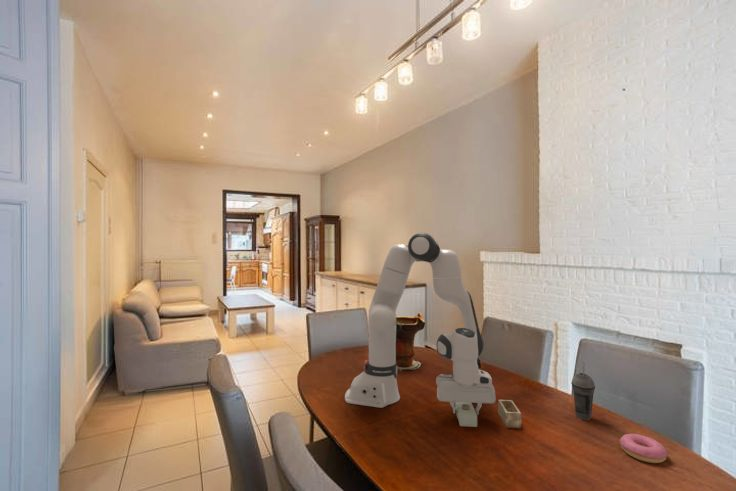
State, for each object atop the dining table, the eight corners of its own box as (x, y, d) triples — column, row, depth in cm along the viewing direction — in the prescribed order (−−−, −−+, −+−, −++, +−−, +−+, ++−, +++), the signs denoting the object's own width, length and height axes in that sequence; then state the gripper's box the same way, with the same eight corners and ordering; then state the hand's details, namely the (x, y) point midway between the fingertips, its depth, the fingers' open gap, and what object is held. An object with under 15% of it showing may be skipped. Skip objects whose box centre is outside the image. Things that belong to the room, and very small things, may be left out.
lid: (459, 425, 117) (459, 412, 117) (455, 410, 128) (455, 398, 128) (477, 426, 117) (477, 413, 117) (471, 411, 127) (471, 399, 127)
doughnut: (677, 463, 97) (677, 448, 97) (646, 468, 95) (646, 453, 95) (639, 441, 108) (639, 428, 108) (610, 446, 105) (610, 432, 105)
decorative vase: (430, 371, 168) (427, 314, 169) (384, 373, 169) (380, 316, 169) (424, 357, 189) (421, 307, 189) (382, 359, 189) (379, 309, 190)
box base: (506, 427, 116) (505, 412, 116) (498, 413, 126) (498, 399, 126) (521, 428, 116) (521, 413, 116) (512, 413, 126) (512, 400, 126)
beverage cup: (592, 414, 125) (591, 359, 125) (598, 423, 118) (597, 365, 118) (569, 411, 127) (569, 357, 128) (574, 420, 121) (573, 363, 121)
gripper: (436, 377, 121) (437, 416, 121) (496, 379, 118) (497, 419, 118) (435, 370, 127) (435, 408, 127) (492, 372, 125) (492, 410, 125)
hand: (465, 413), depth 123 cm, fingers closed on lid, 6 cm apart
